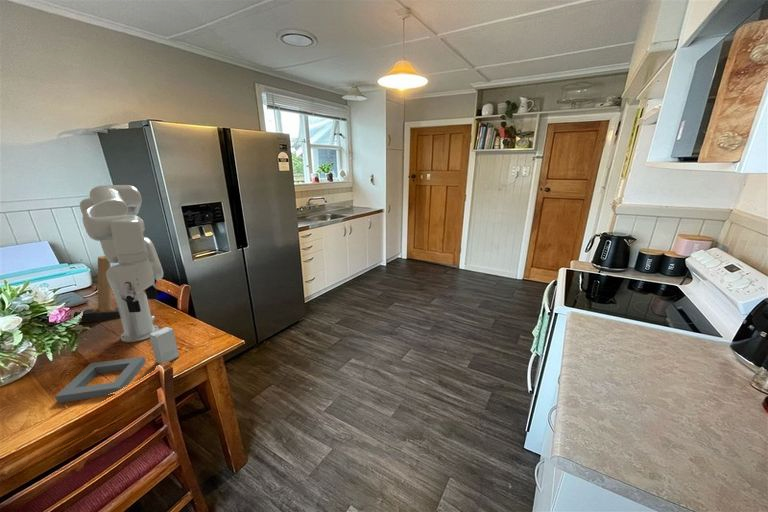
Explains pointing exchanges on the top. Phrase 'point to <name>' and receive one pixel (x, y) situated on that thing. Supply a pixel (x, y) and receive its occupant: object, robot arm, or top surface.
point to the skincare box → (164, 345)
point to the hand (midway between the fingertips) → (144, 305)
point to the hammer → (101, 297)
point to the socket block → (81, 391)
